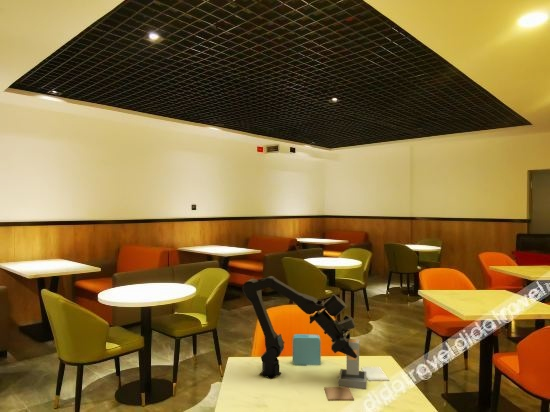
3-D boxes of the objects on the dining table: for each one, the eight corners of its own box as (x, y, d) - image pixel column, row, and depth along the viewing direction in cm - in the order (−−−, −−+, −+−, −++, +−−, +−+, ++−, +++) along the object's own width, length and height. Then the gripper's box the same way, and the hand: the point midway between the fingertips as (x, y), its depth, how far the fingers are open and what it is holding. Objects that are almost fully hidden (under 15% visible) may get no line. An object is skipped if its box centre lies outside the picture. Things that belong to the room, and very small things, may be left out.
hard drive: (361, 366, 163) (368, 379, 150) (380, 366, 163) (389, 379, 150) (361, 370, 163) (368, 383, 150) (380, 370, 163) (389, 383, 150)
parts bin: (338, 387, 146) (338, 379, 146) (340, 376, 155) (340, 368, 155) (365, 390, 143) (365, 382, 143) (366, 379, 153) (366, 371, 153)
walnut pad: (328, 401, 134) (327, 398, 134) (324, 390, 143) (324, 387, 143) (353, 401, 134) (353, 398, 134) (348, 389, 143) (348, 387, 143)
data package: (320, 362, 171) (320, 334, 171) (320, 366, 166) (320, 337, 166) (292, 361, 171) (292, 334, 172) (292, 365, 167) (292, 337, 167)
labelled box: (346, 374, 148) (346, 342, 148) (347, 369, 152) (347, 338, 152) (358, 375, 146) (358, 343, 147) (359, 370, 151) (359, 339, 151)
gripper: (340, 316, 142) (371, 349, 139) (344, 305, 160) (372, 334, 157) (318, 336, 143) (349, 369, 141) (325, 322, 162) (352, 352, 159)
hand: (356, 355), depth 149 cm, fingers closed on labelled box, 5 cm apart
